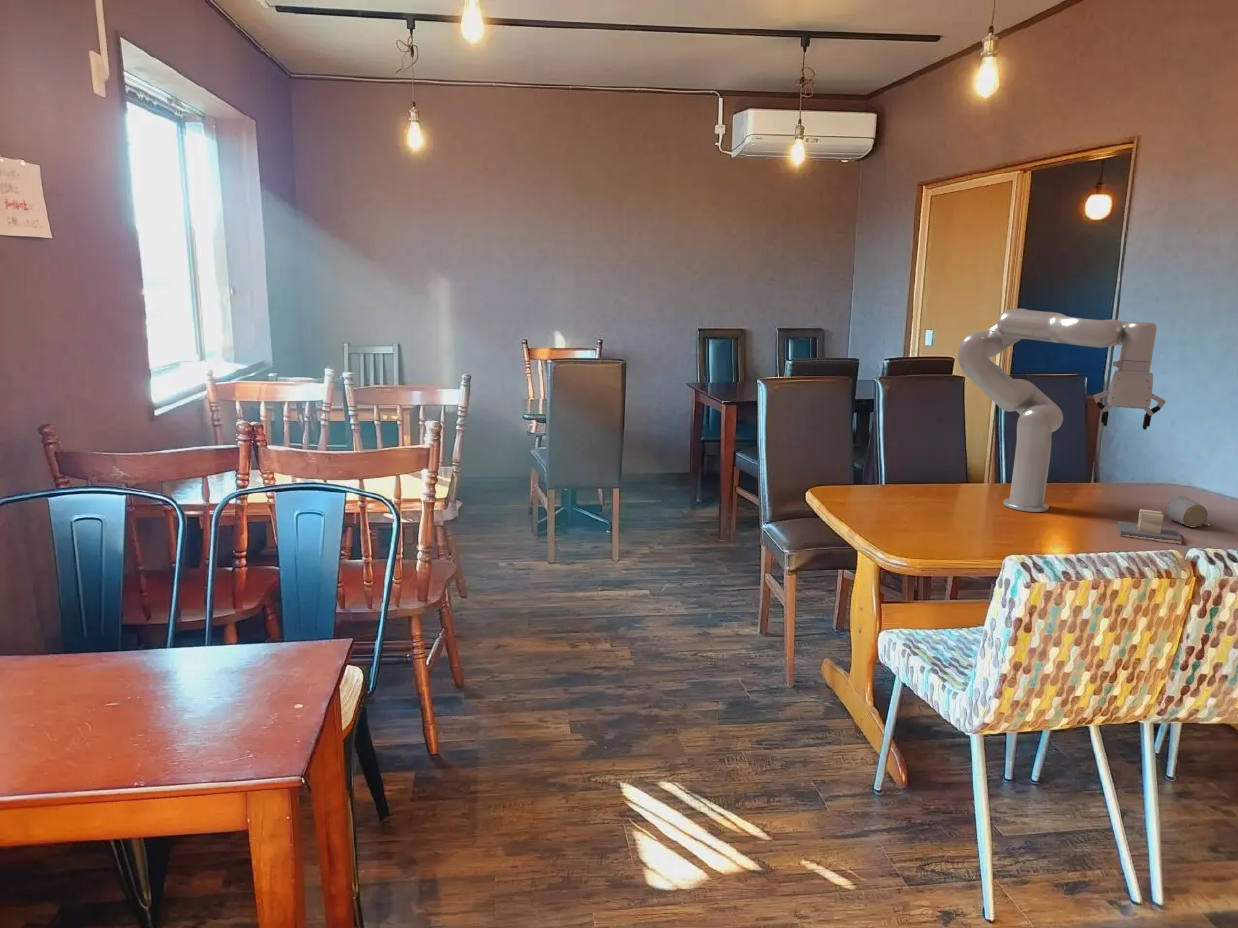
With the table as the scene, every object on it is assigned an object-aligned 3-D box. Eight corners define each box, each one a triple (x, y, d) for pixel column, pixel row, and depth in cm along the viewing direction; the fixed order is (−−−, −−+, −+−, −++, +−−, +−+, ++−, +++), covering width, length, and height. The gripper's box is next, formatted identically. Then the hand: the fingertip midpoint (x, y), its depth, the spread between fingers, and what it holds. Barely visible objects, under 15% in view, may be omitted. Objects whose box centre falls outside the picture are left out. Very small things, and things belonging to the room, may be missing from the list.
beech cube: (1137, 526, 228) (1140, 509, 227) (1158, 528, 226) (1161, 511, 224) (1138, 530, 223) (1141, 513, 222) (1160, 533, 221) (1163, 516, 220)
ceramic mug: (1182, 528, 231) (1187, 503, 230) (1162, 520, 239) (1167, 495, 237) (1218, 529, 232) (1224, 504, 230) (1197, 521, 240) (1202, 496, 238)
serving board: (1117, 526, 233) (1118, 521, 232) (1175, 533, 226) (1176, 528, 226) (1120, 536, 223) (1121, 531, 223) (1180, 544, 217) (1181, 539, 217)
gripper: (1099, 365, 226) (1089, 426, 230) (1173, 370, 218) (1162, 432, 222) (1097, 363, 233) (1088, 422, 236) (1169, 367, 225) (1159, 428, 229)
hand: (1124, 427), depth 229 cm, fingers open, 9 cm apart
